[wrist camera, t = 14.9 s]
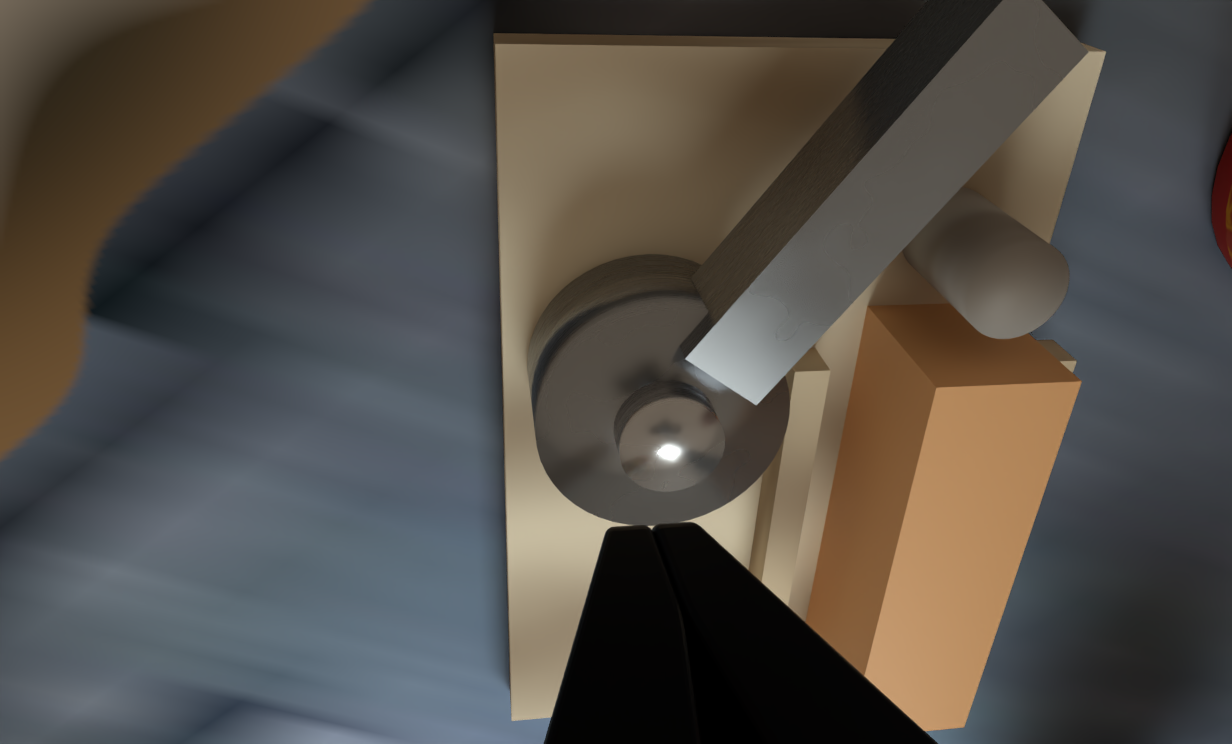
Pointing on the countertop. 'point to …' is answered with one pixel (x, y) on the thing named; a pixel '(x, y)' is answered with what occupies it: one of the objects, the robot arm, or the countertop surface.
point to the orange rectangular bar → (934, 502)
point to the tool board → (692, 229)
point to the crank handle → (775, 273)
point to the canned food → (1223, 203)
